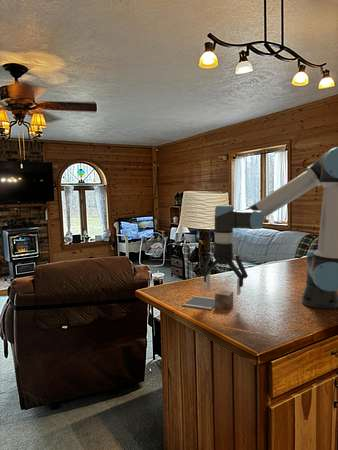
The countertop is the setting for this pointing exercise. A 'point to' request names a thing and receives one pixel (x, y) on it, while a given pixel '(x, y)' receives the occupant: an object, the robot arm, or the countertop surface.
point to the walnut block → (224, 299)
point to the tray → (201, 303)
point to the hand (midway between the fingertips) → (223, 292)
